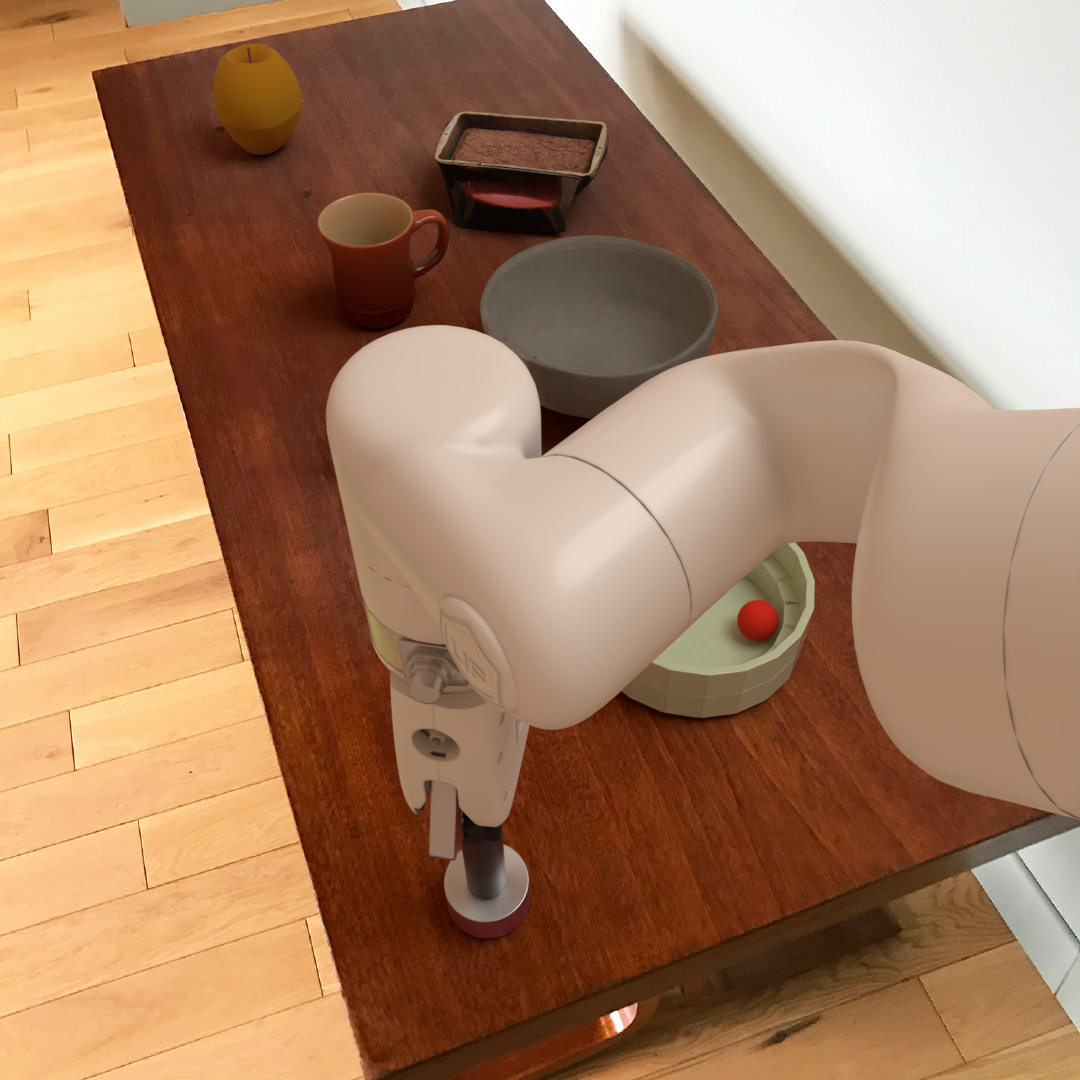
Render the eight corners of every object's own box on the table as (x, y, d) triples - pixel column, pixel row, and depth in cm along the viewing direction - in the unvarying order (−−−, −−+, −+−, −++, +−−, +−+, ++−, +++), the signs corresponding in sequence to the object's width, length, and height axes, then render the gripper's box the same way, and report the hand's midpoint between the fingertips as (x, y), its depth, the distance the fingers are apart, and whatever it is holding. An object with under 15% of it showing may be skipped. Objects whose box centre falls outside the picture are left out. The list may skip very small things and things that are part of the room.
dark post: (521, 945, 68) (512, 808, 55) (438, 931, 68) (409, 792, 55) (536, 865, 71) (531, 718, 58) (457, 853, 72) (434, 704, 59)
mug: (344, 347, 105) (328, 255, 97) (324, 293, 111) (307, 202, 103) (466, 319, 108) (460, 228, 100) (440, 268, 113) (432, 178, 105)
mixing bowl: (797, 737, 78) (812, 690, 73) (567, 703, 79) (568, 655, 75) (802, 560, 88) (816, 509, 83) (599, 534, 90) (601, 483, 85)
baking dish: (476, 171, 129) (456, 91, 121) (627, 172, 123) (616, 88, 116) (438, 251, 120) (414, 170, 113) (597, 254, 115) (583, 170, 107)
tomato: (774, 651, 82) (781, 627, 79) (733, 646, 82) (738, 621, 80) (776, 619, 83) (782, 594, 81) (735, 613, 84) (741, 589, 82)
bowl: (752, 407, 99) (769, 318, 92) (559, 496, 93) (560, 407, 85) (624, 290, 111) (630, 201, 103) (444, 361, 104) (435, 272, 96)
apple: (295, 174, 125) (276, 73, 116) (212, 167, 126) (187, 66, 117) (320, 129, 131) (303, 30, 122) (240, 123, 132) (218, 24, 123)
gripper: (505, 781, 41) (518, 964, 55) (572, 474, 52) (569, 693, 66) (310, 751, 42) (371, 939, 56) (415, 455, 53) (445, 676, 66)
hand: (478, 805), depth 61 cm, fingers closed on dark post, 2 cm apart
